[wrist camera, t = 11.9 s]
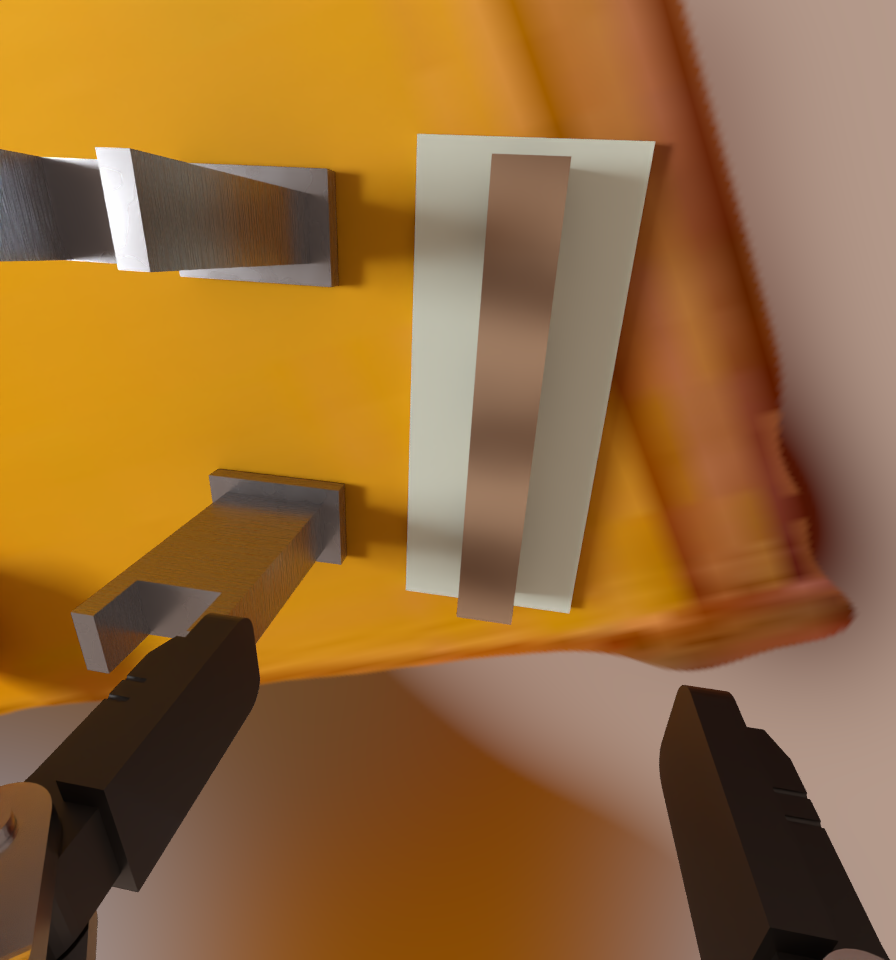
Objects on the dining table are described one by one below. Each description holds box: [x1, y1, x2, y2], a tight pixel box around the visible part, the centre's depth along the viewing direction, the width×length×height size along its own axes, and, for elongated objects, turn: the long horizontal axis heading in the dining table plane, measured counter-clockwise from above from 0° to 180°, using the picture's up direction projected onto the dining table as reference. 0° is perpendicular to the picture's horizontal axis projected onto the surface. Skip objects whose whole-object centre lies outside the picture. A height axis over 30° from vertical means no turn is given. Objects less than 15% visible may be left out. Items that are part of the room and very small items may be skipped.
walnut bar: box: [457, 154, 571, 625], centre depth 26 cm, size 22×3×3 cm, turn 177°
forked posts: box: [0, 147, 347, 673], centre depth 24 cm, size 21×8×12 cm, turn 177°
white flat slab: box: [406, 134, 655, 613], centre depth 27 cm, size 24×10×1 cm, turn 177°
